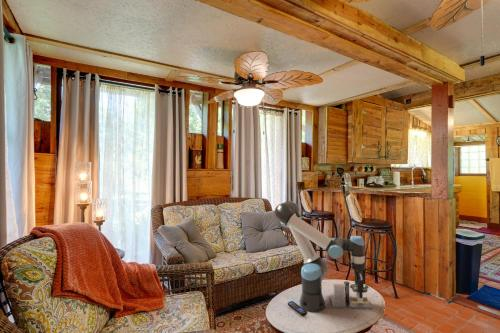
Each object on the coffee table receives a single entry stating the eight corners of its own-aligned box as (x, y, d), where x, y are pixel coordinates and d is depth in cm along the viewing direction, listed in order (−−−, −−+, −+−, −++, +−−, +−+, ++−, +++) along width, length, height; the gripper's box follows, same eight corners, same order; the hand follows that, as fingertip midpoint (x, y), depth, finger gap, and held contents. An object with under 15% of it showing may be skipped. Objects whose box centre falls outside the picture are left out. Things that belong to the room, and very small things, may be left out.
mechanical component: (369, 303, 161) (368, 286, 161) (351, 302, 163) (350, 285, 163) (368, 300, 164) (367, 284, 164) (350, 300, 166) (349, 283, 166)
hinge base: (333, 307, 160) (332, 286, 160) (330, 298, 172) (329, 278, 172) (371, 309, 157) (370, 287, 157) (365, 299, 169) (364, 278, 169)
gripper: (368, 266, 155) (370, 308, 155) (361, 257, 171) (362, 295, 171) (354, 266, 156) (356, 307, 156) (348, 257, 172) (350, 295, 172)
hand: (359, 301), depth 163 cm, fingers closed on mechanical component, 3 cm apart
